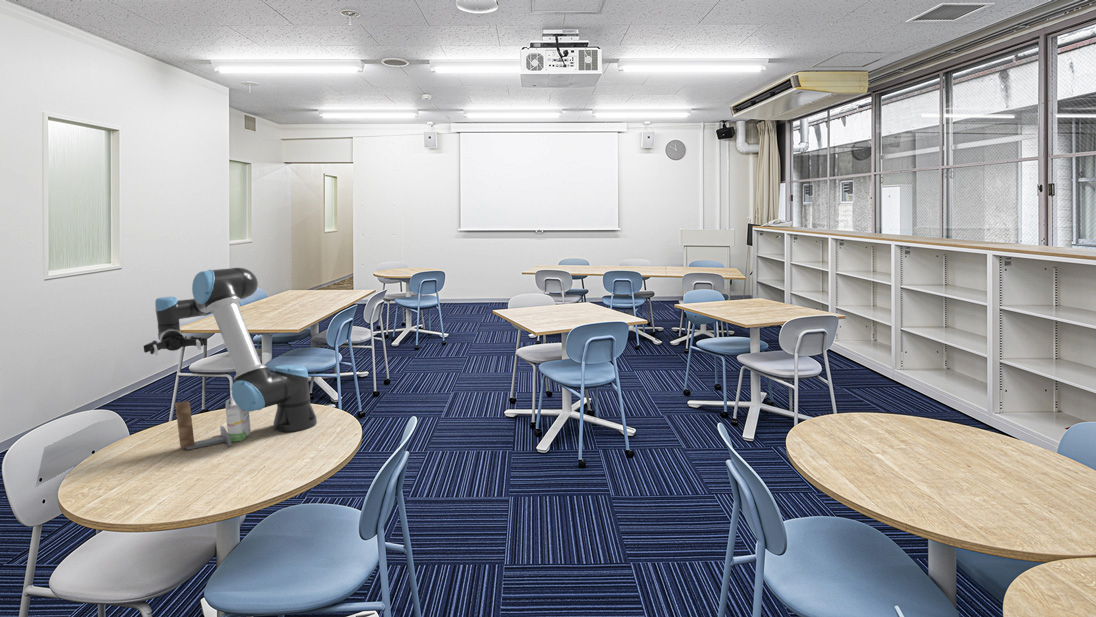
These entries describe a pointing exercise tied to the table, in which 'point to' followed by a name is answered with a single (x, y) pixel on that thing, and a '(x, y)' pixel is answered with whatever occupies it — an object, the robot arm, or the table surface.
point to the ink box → (237, 421)
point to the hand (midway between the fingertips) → (178, 348)
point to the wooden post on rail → (187, 429)
